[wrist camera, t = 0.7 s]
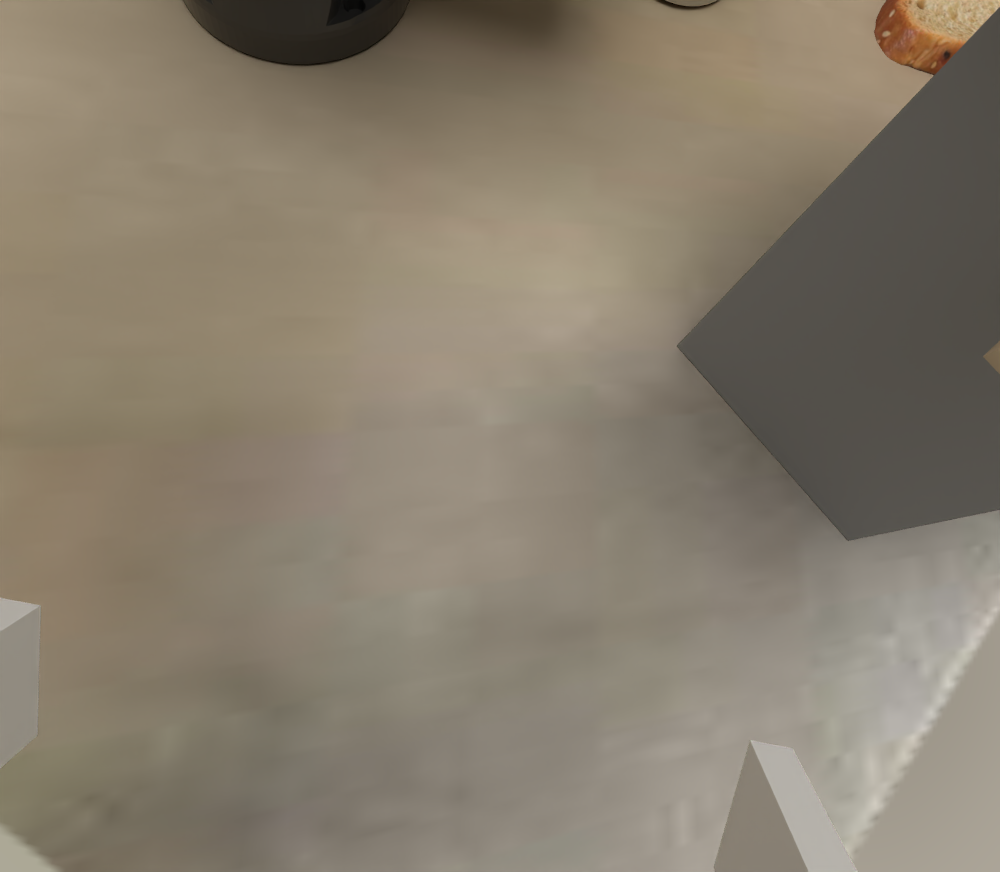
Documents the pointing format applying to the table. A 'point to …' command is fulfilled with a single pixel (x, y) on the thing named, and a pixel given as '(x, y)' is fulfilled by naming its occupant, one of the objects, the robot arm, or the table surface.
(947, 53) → the bread slice
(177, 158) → the table surface
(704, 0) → the travel mug
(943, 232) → the tall grey lidded box
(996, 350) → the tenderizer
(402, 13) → the robot arm
